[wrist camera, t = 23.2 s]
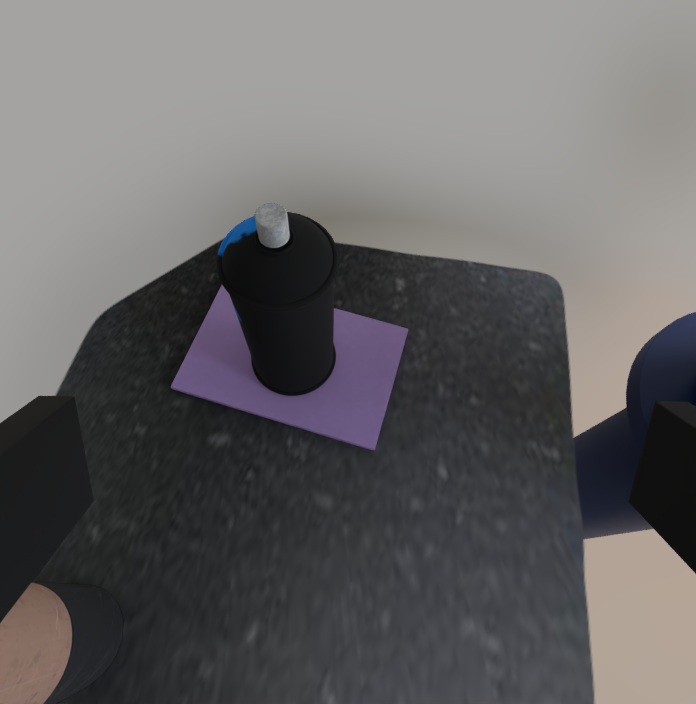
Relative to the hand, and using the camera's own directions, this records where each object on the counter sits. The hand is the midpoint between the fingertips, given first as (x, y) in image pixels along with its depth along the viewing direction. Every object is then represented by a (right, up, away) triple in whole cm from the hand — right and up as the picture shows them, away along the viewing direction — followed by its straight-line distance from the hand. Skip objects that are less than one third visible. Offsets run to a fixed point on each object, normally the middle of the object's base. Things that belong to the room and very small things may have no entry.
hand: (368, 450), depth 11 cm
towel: (-6, +2, +36) cm, 36 cm away
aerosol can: (-6, +2, +35) cm, 36 cm away
